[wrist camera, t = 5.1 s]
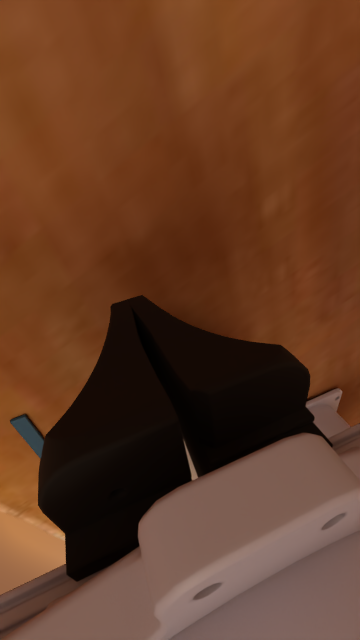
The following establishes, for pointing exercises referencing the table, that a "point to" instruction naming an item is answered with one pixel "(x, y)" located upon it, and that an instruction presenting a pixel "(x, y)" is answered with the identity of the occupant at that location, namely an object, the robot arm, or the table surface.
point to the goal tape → (29, 433)
